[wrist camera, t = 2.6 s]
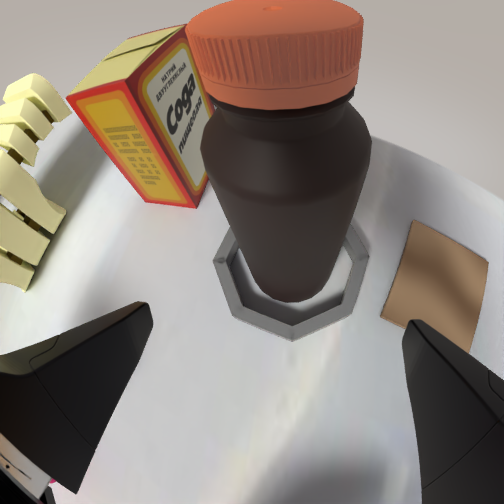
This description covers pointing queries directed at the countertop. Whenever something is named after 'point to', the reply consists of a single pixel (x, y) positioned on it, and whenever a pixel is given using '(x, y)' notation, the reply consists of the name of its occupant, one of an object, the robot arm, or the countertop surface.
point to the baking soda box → (150, 115)
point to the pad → (438, 286)
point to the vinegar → (283, 133)
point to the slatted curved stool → (25, 176)
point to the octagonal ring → (275, 326)
